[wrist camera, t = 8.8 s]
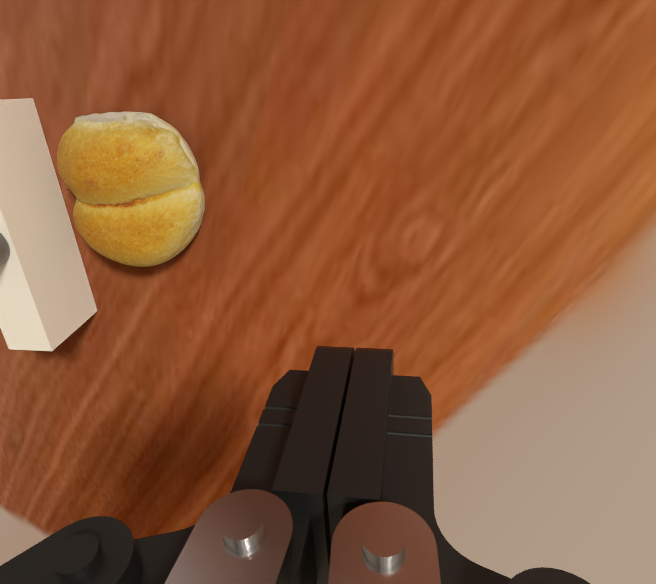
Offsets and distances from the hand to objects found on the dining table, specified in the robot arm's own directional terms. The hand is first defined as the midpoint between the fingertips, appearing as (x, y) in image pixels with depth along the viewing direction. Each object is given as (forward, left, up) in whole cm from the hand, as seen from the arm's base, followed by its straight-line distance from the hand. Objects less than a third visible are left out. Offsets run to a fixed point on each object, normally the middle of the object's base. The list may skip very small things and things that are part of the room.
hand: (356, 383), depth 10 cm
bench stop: (+3, -22, -20) cm, 30 cm away
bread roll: (+1, -15, -20) cm, 25 cm away
